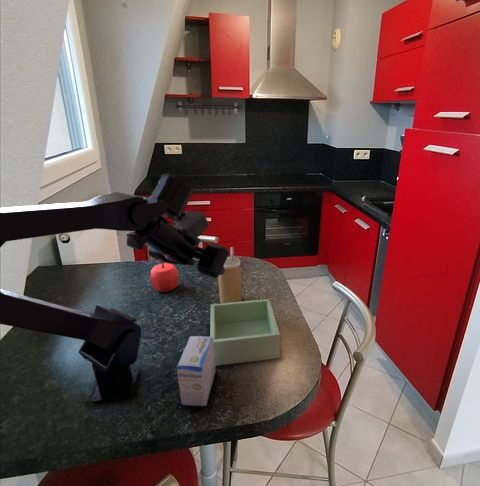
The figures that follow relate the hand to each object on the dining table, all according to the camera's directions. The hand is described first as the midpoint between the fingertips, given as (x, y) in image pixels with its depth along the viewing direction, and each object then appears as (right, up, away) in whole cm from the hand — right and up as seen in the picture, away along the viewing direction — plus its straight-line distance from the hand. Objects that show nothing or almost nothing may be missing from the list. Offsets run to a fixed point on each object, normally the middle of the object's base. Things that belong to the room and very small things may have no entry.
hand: (208, 267), depth 74 cm
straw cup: (+4, -10, +11) cm, 15 cm away
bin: (+9, -16, -3) cm, 18 cm away
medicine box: (+2, -21, -16) cm, 26 cm away
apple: (-16, -7, +18) cm, 25 cm away
